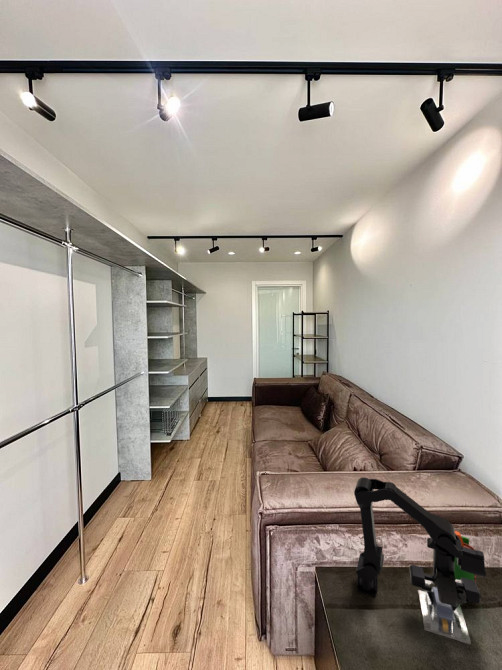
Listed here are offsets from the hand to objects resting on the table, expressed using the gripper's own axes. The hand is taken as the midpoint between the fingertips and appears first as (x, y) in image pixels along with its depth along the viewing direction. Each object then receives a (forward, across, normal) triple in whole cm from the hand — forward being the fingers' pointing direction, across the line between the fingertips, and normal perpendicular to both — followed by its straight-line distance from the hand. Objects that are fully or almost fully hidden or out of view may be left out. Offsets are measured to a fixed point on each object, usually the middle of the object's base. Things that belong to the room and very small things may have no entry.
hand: (442, 606), depth 97 cm
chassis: (+4, 0, 0) cm, 4 cm away
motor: (+4, +8, +14) cm, 17 cm away
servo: (+2, 0, 0) cm, 3 cm away
